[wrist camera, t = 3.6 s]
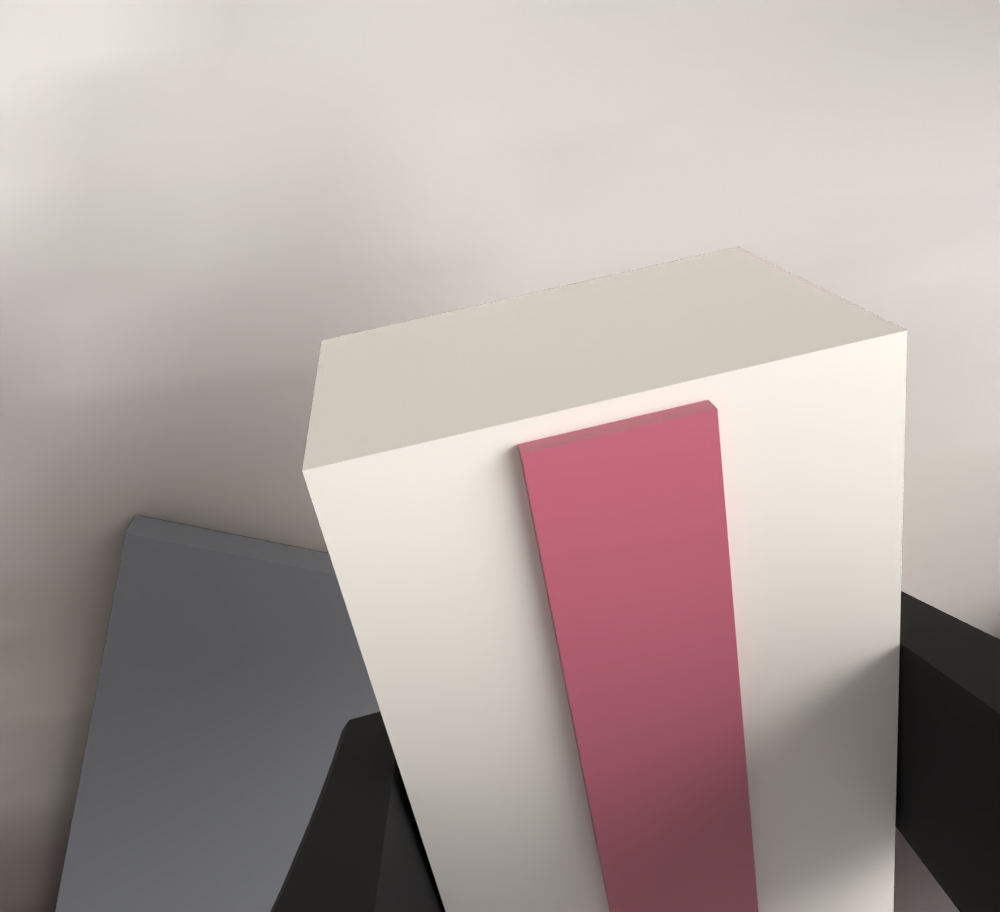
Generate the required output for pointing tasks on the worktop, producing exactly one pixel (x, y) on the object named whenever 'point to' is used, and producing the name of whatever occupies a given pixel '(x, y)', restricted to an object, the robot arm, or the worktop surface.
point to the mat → (210, 722)
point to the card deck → (630, 586)
